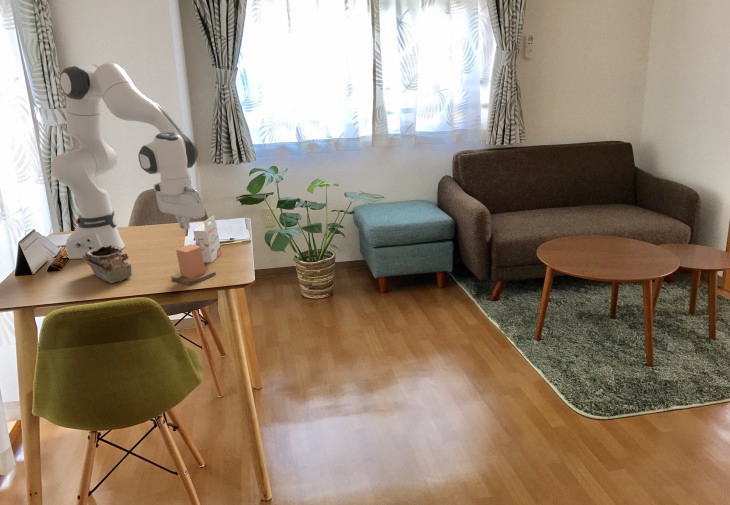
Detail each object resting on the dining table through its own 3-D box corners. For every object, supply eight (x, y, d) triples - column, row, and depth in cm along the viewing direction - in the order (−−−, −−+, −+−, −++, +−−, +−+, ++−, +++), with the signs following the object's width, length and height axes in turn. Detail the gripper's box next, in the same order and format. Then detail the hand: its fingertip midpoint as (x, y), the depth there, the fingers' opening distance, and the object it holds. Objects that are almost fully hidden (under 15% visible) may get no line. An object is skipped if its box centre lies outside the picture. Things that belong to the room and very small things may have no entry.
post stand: (171, 279, 203) (167, 256, 201) (197, 269, 211) (193, 246, 208) (190, 285, 197) (185, 261, 195) (215, 274, 204) (211, 251, 202)
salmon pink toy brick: (181, 275, 203) (176, 249, 200) (195, 269, 207) (190, 244, 204) (191, 278, 200) (186, 252, 197) (205, 272, 204) (200, 246, 201)
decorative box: (94, 291, 199) (87, 262, 196) (76, 275, 214) (69, 249, 211) (135, 279, 207) (129, 251, 203) (114, 265, 222) (108, 239, 218)
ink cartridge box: (209, 254, 225) (202, 214, 220) (221, 254, 223) (215, 214, 218) (198, 262, 217) (191, 222, 212) (211, 262, 216) (204, 222, 211)
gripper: (205, 186, 189) (213, 229, 194) (167, 180, 202) (175, 221, 207) (188, 191, 185) (196, 235, 190) (150, 185, 198) (158, 226, 202)
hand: (185, 228), depth 198 cm, fingers closed
